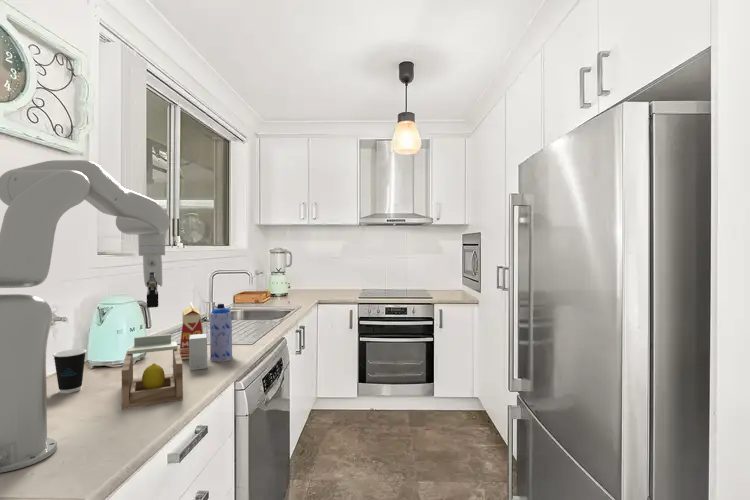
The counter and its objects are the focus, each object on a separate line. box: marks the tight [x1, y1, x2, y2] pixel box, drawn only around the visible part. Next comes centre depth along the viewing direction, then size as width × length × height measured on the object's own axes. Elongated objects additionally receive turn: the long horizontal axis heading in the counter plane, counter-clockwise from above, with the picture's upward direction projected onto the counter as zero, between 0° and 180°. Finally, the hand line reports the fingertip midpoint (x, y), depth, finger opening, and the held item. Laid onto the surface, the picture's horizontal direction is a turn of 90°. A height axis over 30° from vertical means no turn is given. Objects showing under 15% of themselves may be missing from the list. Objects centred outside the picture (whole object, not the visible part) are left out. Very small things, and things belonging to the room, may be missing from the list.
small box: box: [188, 333, 208, 371], centre depth 146 cm, size 8×6×10 cm
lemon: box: [141, 363, 165, 390], centre depth 116 cm, size 6×6×8 cm
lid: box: [127, 333, 178, 355], centre depth 129 cm, size 7×13×4 cm, turn 117°
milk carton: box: [179, 301, 204, 360], centre depth 160 cm, size 9×9×20 cm
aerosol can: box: [209, 303, 234, 362], centre depth 156 cm, size 8×8×20 cm
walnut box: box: [121, 344, 184, 410], centre depth 122 cm, size 24×14×10 cm, turn 27°
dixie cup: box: [52, 348, 88, 394], centre depth 122 cm, size 8×8×11 cm
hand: (152, 305), depth 137 cm, fingers open, 8 cm apart
